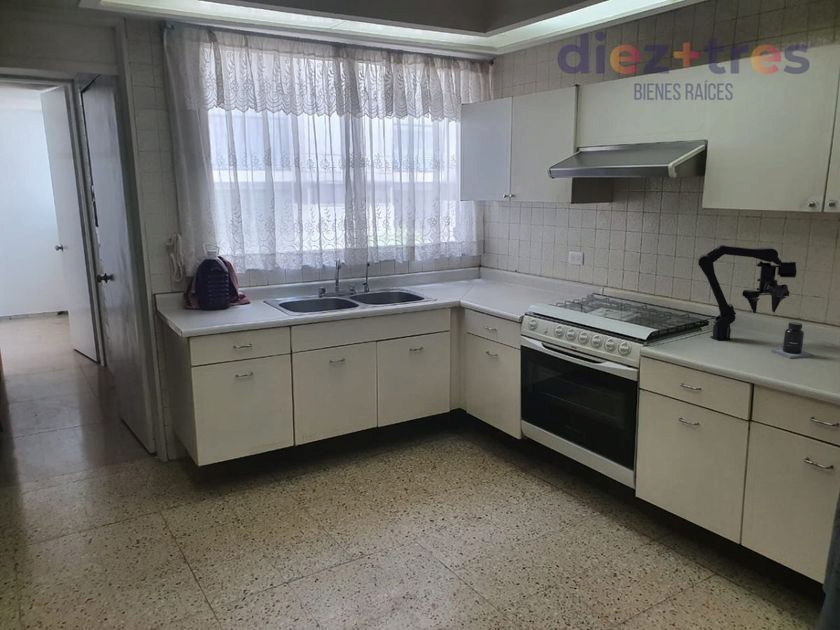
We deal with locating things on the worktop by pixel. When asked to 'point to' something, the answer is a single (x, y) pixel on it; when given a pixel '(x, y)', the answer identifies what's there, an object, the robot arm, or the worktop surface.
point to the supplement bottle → (793, 338)
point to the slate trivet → (791, 356)
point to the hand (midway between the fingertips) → (764, 312)
